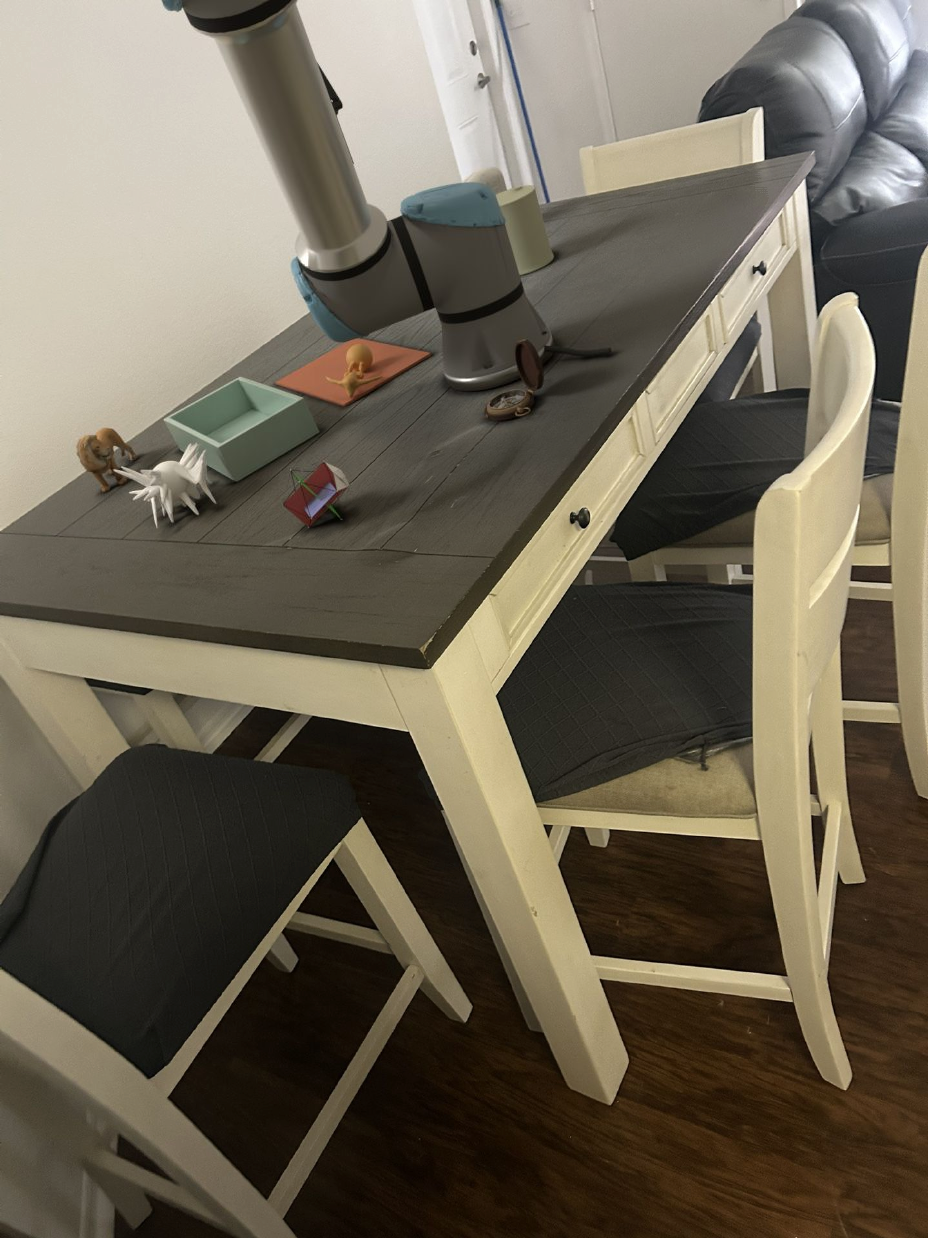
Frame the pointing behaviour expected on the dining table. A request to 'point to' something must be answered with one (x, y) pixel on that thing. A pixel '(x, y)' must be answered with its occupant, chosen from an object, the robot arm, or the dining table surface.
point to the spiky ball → (173, 482)
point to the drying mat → (335, 366)
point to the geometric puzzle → (317, 493)
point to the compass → (517, 399)
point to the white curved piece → (489, 179)
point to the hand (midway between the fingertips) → (323, 169)
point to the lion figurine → (102, 454)
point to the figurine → (356, 369)
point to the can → (525, 228)
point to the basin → (242, 426)
